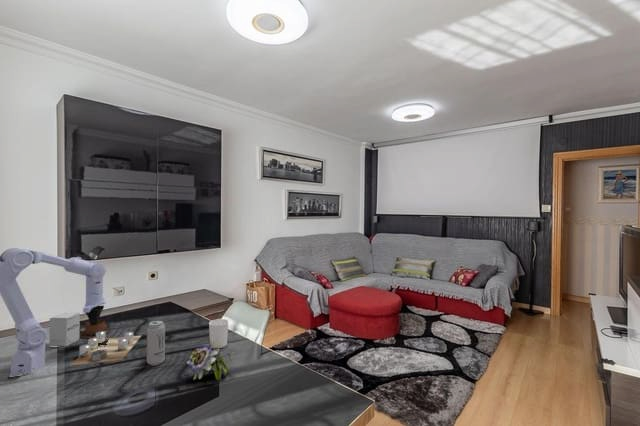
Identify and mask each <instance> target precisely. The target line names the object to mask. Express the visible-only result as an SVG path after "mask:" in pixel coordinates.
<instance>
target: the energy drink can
mask: <svg viewBox="0 0 640 426" xmlns="http://www.w3.org/2000/svg"><path fill="white" fill-rule="evenodd" d="M165 359H166V325H165V324H164V321H163V320H154V321H150V322H149V323H148V326H147V328H146V363H147V364H149V367H154V366H155V367H156V366H159V365H161V364H162V363H164V361H165Z"/></svg>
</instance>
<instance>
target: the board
mask: <svg viewBox="0 0 640 426" xmlns="http://www.w3.org/2000/svg"><path fill="white" fill-rule="evenodd" d="M141 337H142V335H133V343H130V344H128V349H127V350H124V351H118V340H119V339H121V338H124V336H120V337H111V338H110V337H109V338H107V339H109V340H108V342H107V343H106V344H107V345H106V346H105V345H100V346H101V347H100V346H98V348H97V349H95V350H91V353H92V352H95V351H97V350H106V351H107V358H105V359H103V360H101V361H95V362H92V361H91V355H90V356H89V357H86V358H80V355H78V357H77V358H76V359H75V360H74V361H73V362H72V363H71V364H69V366H76V365H77V366H78V365H86V364H87V365H88V364H95V363H97V364H98V363H105V362H114V361H122V360H124V359H125V357H126V356H127V355H128V353H129V352H130V350H132V348H133V347H134V346H135V345H136V344H137V342H138V341H139V340H140V338H141ZM104 346H105V347H104Z"/></svg>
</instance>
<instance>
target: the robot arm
mask: <svg viewBox="0 0 640 426" xmlns="http://www.w3.org/2000/svg"><path fill="white" fill-rule="evenodd" d="M41 263H44V264H49V265H55V266H59V267H63V268H64V270H65V272H68V273H73V274H76V275H80V276H85V304H84V306H83V309H82V313H84V314H86V316H87V318H88V322H89V321H90V325H97V324H98V321H99V320H100V317H101V313H102V312H103V310H104V308H105V305H106V304H107V301H106V300H105V297H104V295H103V293H104V276H105V274H106V272H107V269H106V267H105V266H104V265H103V264H101V263H96V262H94V260H85V259H82V257H80V256H76V257H70V258H65V257H61V256H58V255H54V254H51V253H46V252H43V251H38V250H30V249H20V248H16V247H11V248H7V249H5V250H4V251H3V252H2V253H1V254H0V296H1V298H2V300H3V302H4V304H5V306H6V308H7V310H8V313H9V314H10V315H11V318H12V320H13V322H14V328H15V338H16V340H17V341H18V344H17V349H16V352H15V354H13V356H12V357H11V358H10V375H11V376H17V375H20V374H24V373H32V372H33V371H35V370H36V369H37V370H39V369H40V368H39V367H41V366H43V365H44V364H45V365H46V340H47V339H48V336H49V332H48V330H47V329H46V328H44V327H42V325H41V324H40V322H39V321H38V320H37V319H36V318H35V315H34V314H33V312H32V310H31V307H30V305H29V304H28V302H27V300H26V298H25V296H24V293H23V292H22V289H21V287H20V286H19V283H18V281H17V278H18V276H19V275H20V273H21V272H22V271H24V270H25V269H27V267H29V266H30V265H31V264H32V265H36V264H41ZM45 365H44V366H45ZM44 366H43V367H44ZM38 368H39V369H38ZM41 368H42V367H41ZM37 370H36V371H37ZM36 371H35V372H36ZM33 373H34V372H33ZM33 373H32V374H33Z"/></svg>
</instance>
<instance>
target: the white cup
mask: <svg viewBox="0 0 640 426" xmlns="http://www.w3.org/2000/svg"><path fill="white" fill-rule="evenodd" d="M208 326H209V327H208V330H209V331H208V332H209V343H210V342H211V341H213V342H214V345H213V347H212V349H221V348H225V347H227V345H228V335H229V320H228V319H226V318H217V319H212V320H211V321H209V322H208Z"/></svg>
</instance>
